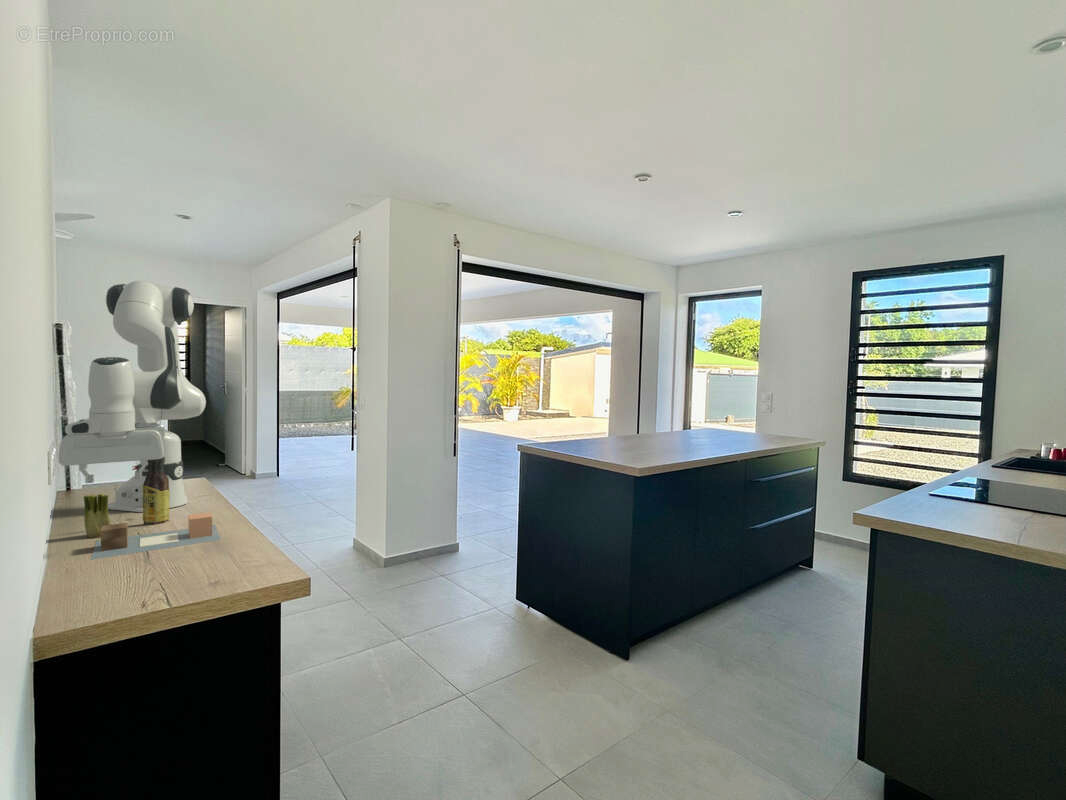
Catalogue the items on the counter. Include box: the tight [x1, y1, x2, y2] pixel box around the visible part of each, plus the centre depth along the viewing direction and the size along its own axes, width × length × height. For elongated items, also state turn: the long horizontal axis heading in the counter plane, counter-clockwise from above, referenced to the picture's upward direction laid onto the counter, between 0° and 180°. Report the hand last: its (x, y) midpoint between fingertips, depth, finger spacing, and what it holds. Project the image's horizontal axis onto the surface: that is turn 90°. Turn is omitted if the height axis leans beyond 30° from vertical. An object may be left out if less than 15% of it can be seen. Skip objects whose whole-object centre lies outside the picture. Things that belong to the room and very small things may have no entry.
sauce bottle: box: [142, 456, 170, 526], centre depth 154 cm, size 7×6×20 cm
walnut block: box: [100, 522, 129, 551], centre depth 132 cm, size 5×5×5 cm
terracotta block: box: [188, 512, 213, 539], centre depth 143 cm, size 5×5×5 cm
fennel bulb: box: [83, 493, 112, 539], centre depth 141 cm, size 6×5×12 cm
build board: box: [90, 524, 222, 560], centre depth 138 cm, size 26×16×1 cm, turn 125°
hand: (114, 480), depth 132 cm, fingers open, 8 cm apart
